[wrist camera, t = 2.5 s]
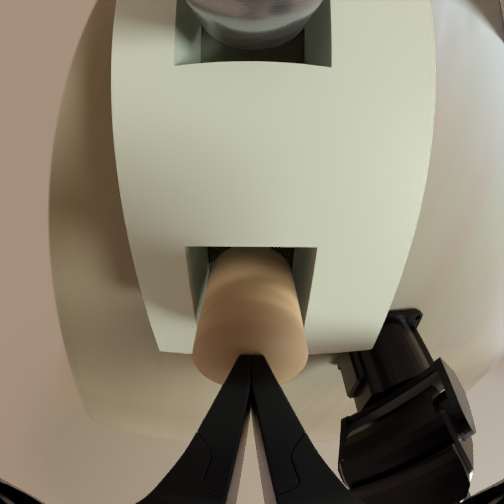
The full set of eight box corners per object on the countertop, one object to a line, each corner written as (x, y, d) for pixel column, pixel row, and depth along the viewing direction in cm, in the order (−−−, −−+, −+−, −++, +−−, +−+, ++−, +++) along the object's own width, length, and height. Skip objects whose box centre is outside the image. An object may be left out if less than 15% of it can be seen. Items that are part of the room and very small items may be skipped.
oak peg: (296, 244, 12) (317, 319, 8) (288, 312, 14) (299, 388, 10) (205, 244, 12) (183, 318, 8) (212, 311, 14) (200, 387, 10)
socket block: (378, -4, 8) (422, -32, 4) (349, 295, 18) (372, 349, 14) (160, -15, 8) (126, -52, 4) (177, 295, 18) (159, 351, 14)
